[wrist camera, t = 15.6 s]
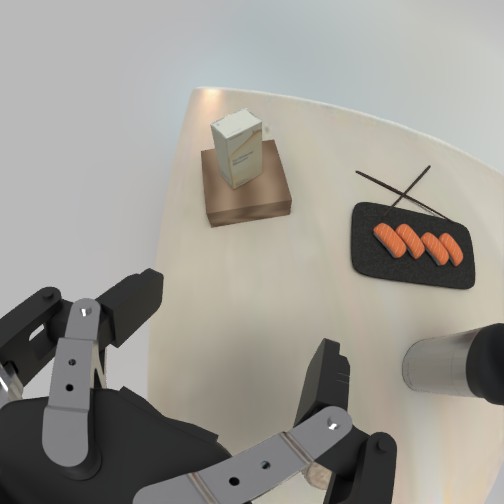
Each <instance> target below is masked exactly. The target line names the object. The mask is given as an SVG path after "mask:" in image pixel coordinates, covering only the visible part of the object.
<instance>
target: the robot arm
mask: <svg viewBox="0 0 504 504" xmlns="http://www.w3.org/2000/svg"><path fill="white" fill-rule="evenodd" d="M163 279H164V277H163V274H161V273H159V272H157V271H155V270H153V269H150V268H149V269H146V270H145V271H144V272H142V273H141V274H134V275H130V276H127V277H126V278H125V279H123V280H122V281H121V282H119V283H117V284H116V285H115V286H113V287H112V288H110V289H109V290H108V291H106V292H105V293H103V294H102V295H101V296H99V297H98V298H96V299H95V300H93V299H89V298H84V299H80V300H78V301H76V302H75V303H73V302H69V301H67V300H64V299H62V297H61V292H60V291H59V290H58V289H57V288H55V287H45V288H42V289H40V290H39V291H37V292H36V293H35V294H33V295H32V296H31V297H29V298H28V299H26V300H25V301H24V302H22V303H21V304H19V305H18V306H17V307H15V309H13V310H11V311H10V312H9V313H7V314H6V315H5V316H3V317H2V318H1V319H0V504H252V502H251V501H253V500H255V499H257V498H259V497H260V496H262V495H264V494H266V493H267V492H269V491H271V490H272V489H274V488H276V487H277V486H279V485H280V484H282V483H284V482H285V481H287V480H288V479H290V478H291V477H293V476H294V475H296V474H297V473H299V472H300V471H302V470H303V469H305V468H306V467H307V466H309V465H310V464H312V463H313V462H316V463H318V464H319V465H321V466H323V467H325V468H326V469H328V470H330V471H332V474H331V477H330V481H329V485H328V488H327V492H326V495H325V499H324V502H323V504H391V502H392V495H393V488H394V479H395V469H396V456H397V445H396V442H395V440H394V439H393V438H392V437H391V436H390V435H389V434H387V433H384V432H376V433H374V434H372V435H371V436H370V435H368V434H366V433H364V432H363V431H361V430H359V429H357V428H356V427H355V426H354V425H353V424H352V419H351V417H350V415H349V414H348V413H347V407H348V394H349V379H350V377H349V376H350V365H349V362H348V360H347V358H346V357H345V356H341V355H339V350H340V343H338V342H335V341H332V340H329V339H326V338H324V339H323V340H322V342H321V344H320V346H319V348H318V349H317V351H316V353H315V355H314V356H313V358H312V360H311V362H310V364H309V367H308V369H307V373H306V377H305V382H304V386H303V390H302V395H301V399H300V403H299V407H298V411H297V415H296V418H295V422H294V426H293V429H292V430H290V431H288V432H286V433H285V432H281V433H278V434H277V435H275V436H273V437H271V438H269V439H267V440H266V441H264V442H262V443H260V444H258V445H256V446H254V447H252V448H250V449H248V450H246V451H244V452H242V453H240V454H238V455H236V456H234V457H232V455H231V454H230V453H229V452H228V451H227V450H226V449H225V448H224V447H223V446H222V445H221V444H219V443H218V442H217V439H218V436H219V435H217V434H214V433H212V432H210V431H207V430H205V429H203V428H201V427H198V426H196V425H194V424H190V423H186V422H182V421H178V420H174V419H170V418H167V417H165V416H163V415H162V414H161V413H160V412H158V411H157V410H156V409H155V408H154V407H153V406H152V405H151V404H150V403H149V402H148V401H146V400H145V399H144V398H142V397H141V396H139V395H137V394H136V393H134V392H132V391H131V390H129V389H128V388H126V387H124V386H123V387H122V388H121V389H120V391H117V390H113V389H107V386H106V358H107V356H106V355H107V348H106V347H107V346H108V345H109V344H112V345H113V346H115V347H116V348H118V347H120V346H121V345H122V344H123V343H124V342H125V341H126V340H127V339H128V338H129V337H130V336H131V335H132V334H133V333H134V332H135V331H136V330H137V329H138V328H139V327H140V326H141V325H142V324H143V323H144V322H145V321H147V320H148V319H149V318H150V317H151V316H152V315H153V314H154V313H155V312H156V311H157V310H158V309H159V307H160V305H161V302H162V294H163ZM42 324H43V326H44V329H43V330H42V331H41V332H40V333H38V334H37V335H36V336H35V337H34V338H33V339H32V340H30V341H29V337H30V335H31V333H32V332H33V331H35V330H36V329H37V328H38V327H39V326H40V325H42ZM53 357H55V361H54V366H53V371H52V378H51V385H50V393H49V396H48V397H40V398H32V399H23V398H22V393H23V388H24V387H25V386H26V385H27V384H28V382H30V381H31V379H32V378H33V377H34V376H35V375H36V374H37V373H38V372H39V371H40V370H41V369H42V368H43V367H44V366H45V365H46V364H47V363H48V362H49V361H50V360H52V358H53ZM403 377H404V380H405V382H406V384H407V385H408V386H409V387H410V388H411V389H413V390H416V391H422V392H428V393H436V394H444V395H453V396H463V397H477V398H485V399H486V400H487V401H488V402H490V403H492V404H496V405H504V324H503V323H497V324H493V325H489V326H486V327H482V328H478V329H474V330H470V331H466V332H462V333H457V334H453V335H448V336H443V337H438V338H432V339H427V340H422V341H419V342H417V343H415V344H414V345H413V346H412V347H411V348H410V349H409V351H408V352H407V354H406V356H405V358H404V362H403Z"/></svg>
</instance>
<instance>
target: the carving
mask: <svg viewBox="0 0 504 504" xmlns="http://www.w3.org/2000/svg"><path fill="white" fill-rule="evenodd" d="M301 472H302V474H303V475H304V477H305V479H306V481H307V482H308V483H309V484H310V485H311V486H313V487H315V488H318V489H322V490H327V488H328V485H329V481H330V477H331V474H332V471H330V470H328V469H326V468H325V467H323V466H321V465H319V464H318V463H316V462H313V463H312V464H310V465H309V466H307V467H306V468H305V469H303V470H302V471H301Z"/></svg>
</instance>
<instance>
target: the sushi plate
mask: <svg viewBox="0 0 504 504" xmlns="http://www.w3.org/2000/svg"><path fill="white" fill-rule="evenodd" d="M430 167H431V166H430V165H429V166H428V167H427V168H426V169H425V170H424V171H423V172H422V174H421V175H420V176H419V177H418V178H417V179H416V180H415V181H414V183H413V184H412V185H411V186H410V187H409V188H408V189H407V190H406V191H405V192H404V193H402V192H400V191H398V190H396V189H394V188H392V187H391V186H389V185H387V184H385V183H383V182H381V181H378V180H376V179H374V178H372V177H370V176H368V175H366V174H364V173H361V172H359V171H356V173H358V174H360V175H362V176H364V177H366V178H368V179H370V180H372V181H373V182H375V183H377V184H379V185H381V186H383V187H386V188H388V189H390V190H392V191H394V192H396V193H398V194H400V195H401V197H400V198H399V199H398V200H397V201H396V202H395V203H394V204H393V205H392V206H387V205H382V204H377V203H370V202H360V203H357V204H356V205H355V207H354V210H353V216H352V261H353V265H354V267H355V269H356V270H357V271H358V272H360V273H362V274H365V275H368V276H372V277H378V278H384V279H391V280H399V281H406V282H413V283H421V284H428V285H436V286H443V287H451V288H459V289H469V288H471V287H473V286H474V283H475V263H474V254H473V247H472V241H471V237H470V234H469V231H468V229H467V228H466V227H465V226H463V225H462V224H459V223H457V222H454V221H452V220H450V219H448V218H447V217H445V216H443V215H442V214H440V213H438V212H436V211H435V210H433V209H431V208H429V207H428V206H426V205H424V204H422V203H420V202H419V201H417V200H415V199H413V198H411V197H409V196H408V195H406V193H407V192H408V191H409V190H410V189H411V188H412V187H413V186H414V185H415V184H416V183H417V182H418V180H419V179H420V178H421V177H422V176H423V175H424V174H425V173H426V172H427V171H428V170H429V168H430ZM403 196H404V197H406V198H408V199H410V200H412V201H414V202H416V203H418V204H420V205H422V206H424V207H426V208H427V209H429V210H431V211H433V212H435V213H436V214H438V215H440V216H442V217H443V218H445V219H443V218H439V217H435V216H431V215H427V214H423V213H418V212H414V211H410V210H405V209H401V208H396V207H394V206H395V205H396V204H397V203H398V202H399V200H400V199H401V198H402V197H403ZM446 219H447V220H446Z"/></svg>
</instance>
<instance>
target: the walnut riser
mask: <svg viewBox="0 0 504 504" xmlns="http://www.w3.org/2000/svg"><path fill="white" fill-rule="evenodd" d="M201 158H202V170H203V182H204V193H205V204H206V214H207V216H208V219H209V222H210V224H211V227H218V226H223V225H229V224H235V223H241V222H247V221H253V220H259V219H265V218H271V217H277V216H284V215H290V208H291V202H292V199H291V195H290V191H289V188H288V184H287V181H286V177H285V174H284V171H283V167H282V164H281V161H280V157H279V154H278V151H277V147H276V144H275V141H274V140H267V141H262V169H263V173H262V174H260V175H259V176H257V177H255V178H253V179H252V180H250V181H248V182H246V183H245V184H243V185H241V186H239V187H237V188H236V189H233V188H232V187H231V186H230V185H229V184H228V183H227V182H226V180H225V179H224V178H223V177H222V175H221V173H220V168H219V163H218V158H217V154H216V149H210V150H205V151H201Z"/></svg>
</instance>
